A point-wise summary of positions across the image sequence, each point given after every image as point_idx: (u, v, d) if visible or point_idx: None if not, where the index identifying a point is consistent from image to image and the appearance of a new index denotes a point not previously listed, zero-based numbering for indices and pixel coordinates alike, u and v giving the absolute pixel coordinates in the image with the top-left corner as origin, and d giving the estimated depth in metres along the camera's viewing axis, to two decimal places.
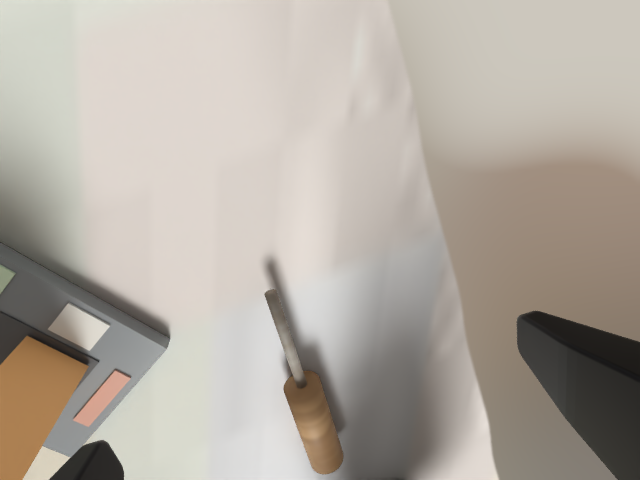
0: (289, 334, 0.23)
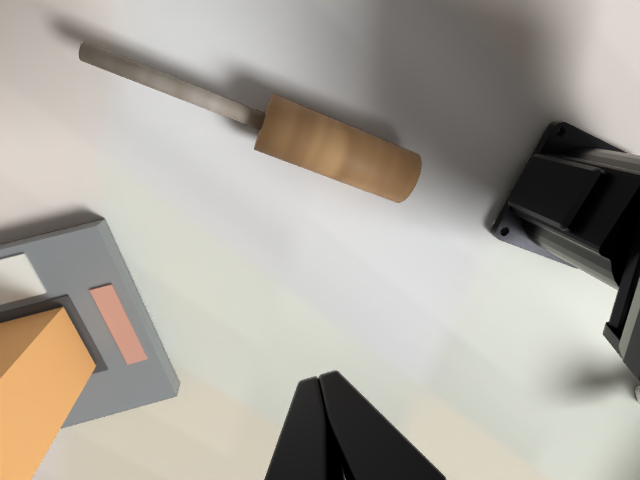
0: (165, 75, 0.15)
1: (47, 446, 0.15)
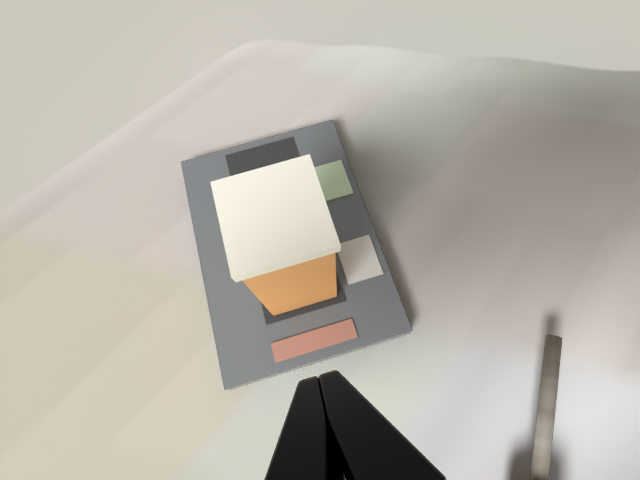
0: None
1: (257, 294, 0.16)
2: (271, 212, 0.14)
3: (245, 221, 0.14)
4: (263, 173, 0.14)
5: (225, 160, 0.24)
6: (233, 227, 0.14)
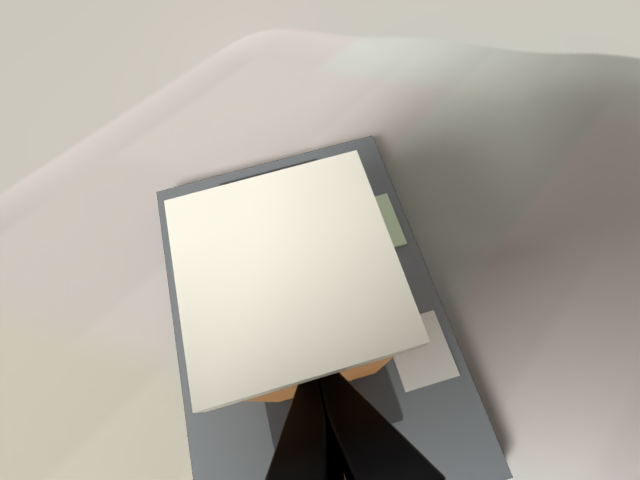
0: None
1: (252, 399, 0.09)
2: (282, 265, 0.07)
3: (228, 283, 0.07)
4: (267, 185, 0.07)
5: None
6: (203, 296, 0.07)
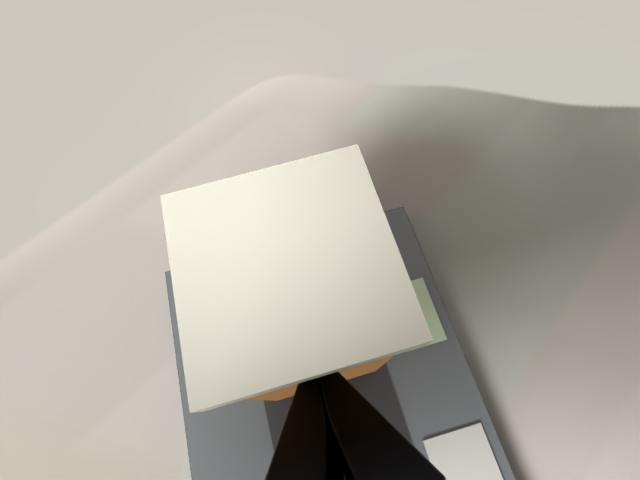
0: None
1: (251, 398, 0.09)
2: (281, 261, 0.07)
3: (227, 280, 0.06)
4: (266, 180, 0.07)
5: None
6: (201, 293, 0.06)
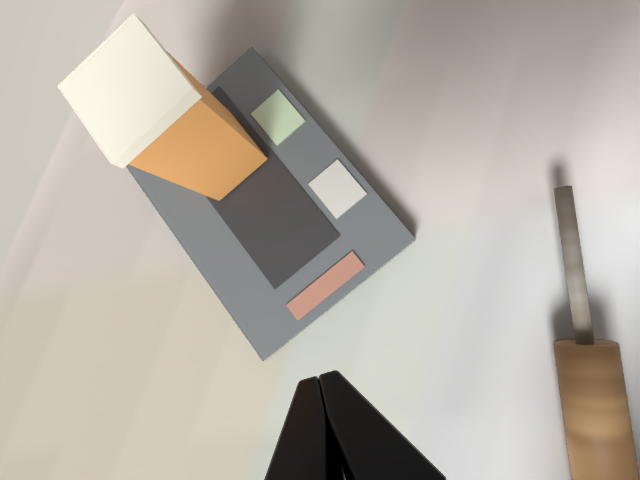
0: (580, 251, 0.17)
1: (170, 178, 0.16)
2: (121, 88, 0.13)
3: (102, 107, 0.14)
4: (99, 54, 0.14)
5: None
6: (94, 118, 0.14)
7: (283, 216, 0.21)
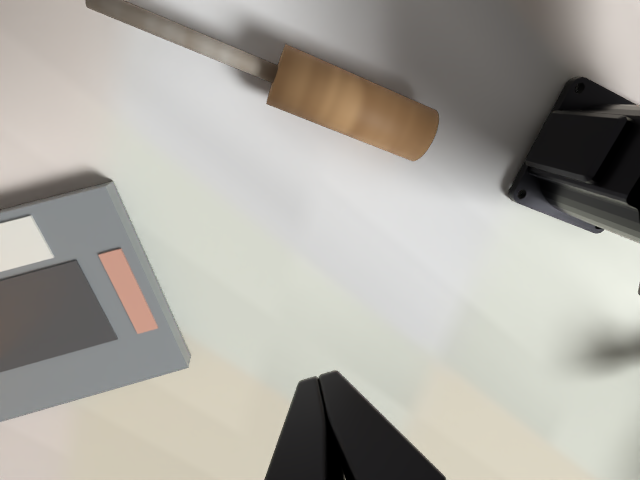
0: (174, 23, 0.14)
1: None
2: None
3: None
4: None
5: None
6: None
7: (33, 308, 0.18)
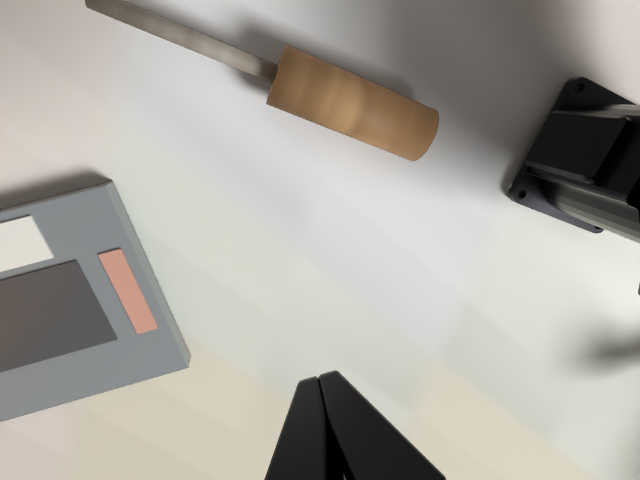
0: (174, 23, 0.14)
1: None
2: None
3: None
4: None
5: None
6: None
7: (33, 308, 0.18)
